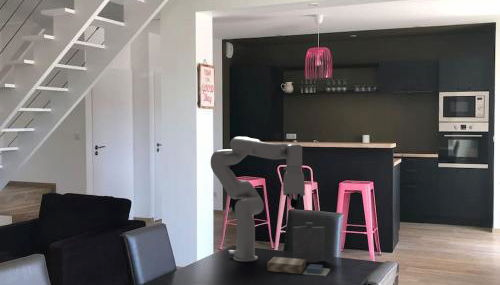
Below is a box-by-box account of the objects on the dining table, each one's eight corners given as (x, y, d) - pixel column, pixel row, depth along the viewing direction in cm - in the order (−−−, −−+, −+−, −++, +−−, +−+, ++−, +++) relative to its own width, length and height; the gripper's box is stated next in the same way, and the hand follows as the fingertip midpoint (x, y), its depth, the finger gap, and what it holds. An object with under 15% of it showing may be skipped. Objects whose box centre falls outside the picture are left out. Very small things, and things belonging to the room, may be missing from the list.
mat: (302, 274, 250) (302, 273, 250) (307, 267, 262) (307, 266, 262) (326, 276, 246) (326, 275, 246) (330, 269, 259) (330, 268, 259)
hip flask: (323, 260, 277) (324, 221, 277) (325, 262, 273) (325, 223, 273) (292, 260, 276) (293, 221, 276) (294, 262, 272) (294, 223, 272)
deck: (267, 270, 255) (267, 262, 255) (273, 264, 267) (273, 256, 267) (300, 273, 250) (300, 265, 250) (305, 267, 262) (305, 259, 262)
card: (319, 269, 249) (319, 273, 249) (322, 264, 258) (322, 269, 258) (306, 268, 251) (306, 272, 251) (310, 263, 260) (310, 268, 260)
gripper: (277, 169, 261) (277, 207, 261) (307, 170, 256) (307, 209, 256) (281, 169, 268) (280, 205, 268) (310, 169, 263) (310, 207, 264)
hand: (293, 207), depth 262 cm, fingers closed
